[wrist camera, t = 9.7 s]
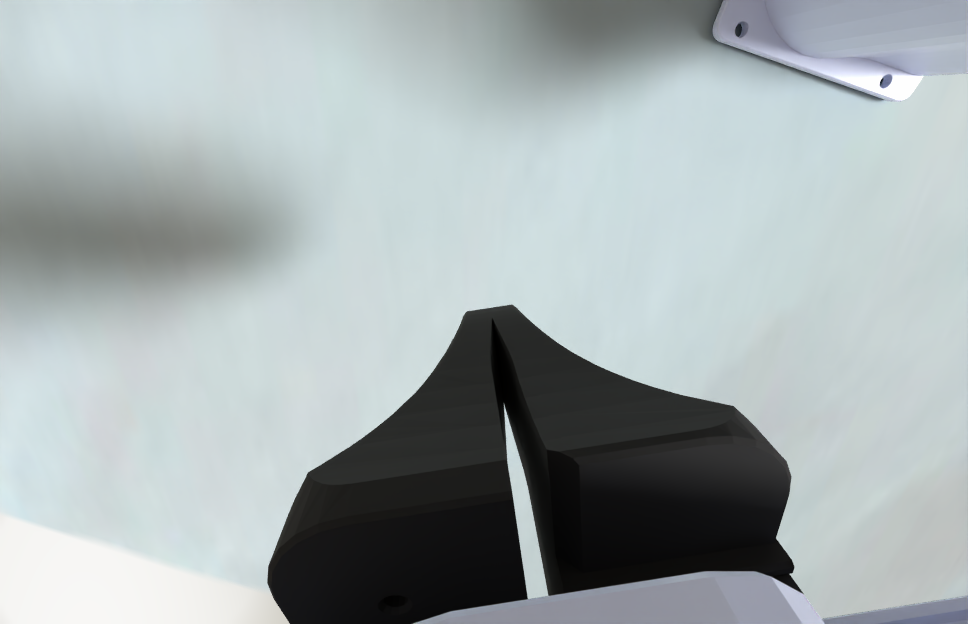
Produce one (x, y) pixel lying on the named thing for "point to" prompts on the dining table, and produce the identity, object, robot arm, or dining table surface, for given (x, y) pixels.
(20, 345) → the dining table surface
